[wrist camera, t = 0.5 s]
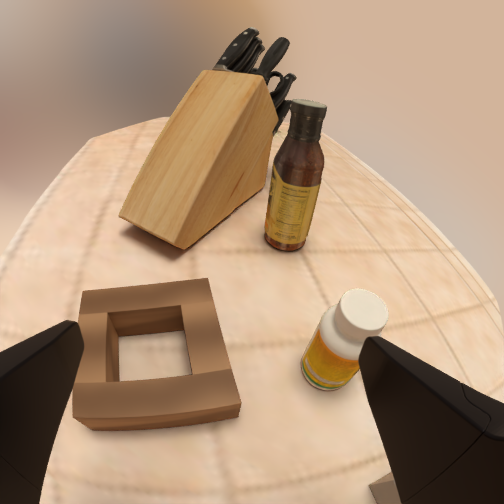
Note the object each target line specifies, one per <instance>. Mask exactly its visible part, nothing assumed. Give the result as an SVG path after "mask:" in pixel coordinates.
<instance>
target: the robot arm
mask: <svg viewBox="0 0 504 504" xmlns="http://www.w3.org/2000/svg"><path fill="white" fill-rule="evenodd" d="M83 352H84V340H83V337H82V333H81V330H80V326H79V324H78V323H77V322H75V321H70V320H65V321H63V322H61V323H59V324H57V325H55V326H53V327H51V328H49V329H47V330H45V331H42V332H40V333H38V334H36V335H34V336H32V337H30V338H28V339H26V340H24V341H22V342H20V343H18V344H16V345H14V346H12V347H10V348H8V349H6V350H4V351H2V352H0V504H39V502H40V497H41V491H42V486H43V482H44V477H45V473H46V469H47V465H48V462H49V458H50V454H51V451H52V447H53V444H54V441H55V437H56V434H57V431H58V428H59V425H60V422H61V419H62V416H63V413H64V411H65V408H66V405H67V402H68V400H69V397H70V394H71V392H72V389H73V386H74V382H75V379H76V375H77V372H78V368H79V365H80V361H81V358H82V355H83ZM358 363H359V367H360V371H361V375H362V379H363V383H364V387H365V391H366V395H367V399H368V402H369V405H370V408H371V411H372V414H373V416H374V419H375V422H376V425H377V428H378V431H379V434H380V437H381V440H382V443H383V446H384V449H385V452H386V455H387V458H388V461H389V464H390V467H391V471H392V474H393V477H394V481H395V484H396V487H397V491H398V494H399V498H400V501H401V504H504V403H502V402H500V401H497V400H495V399H493V398H491V397H489V396H486V395H484V394H482V393H480V392H478V391H476V390H474V389H473V388H471V387H469V386H467V385H465V384H463V383H460V381H458V380H456V379H454V378H453V377H451V376H449V375H447V374H445V373H444V372H442V371H440V370H438V369H436V368H435V367H433V366H431V365H429V364H428V363H426V362H424V361H422V360H420V359H419V358H417V357H415V356H413V355H412V354H410V353H408V352H406V351H405V350H403V349H401V348H399V347H397V346H396V345H394V344H392V343H390V342H389V341H387V340H385V339H383V338H382V337H380V336H368V337H367V338H366V339H365V341H364V343H363V346H362V349H361V352H360V354H359V358H358Z"/></svg>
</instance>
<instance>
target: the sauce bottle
mask: <svg viewBox="0 0 504 504" xmlns="http://www.w3.org/2000/svg"><path fill="white" fill-rule="evenodd" d="M290 110H291V119H290V126H289V130H288V134H287V136H286V138H285V140H284V142H283V143H282V145H281V147H280V149H279V151H278V152H277V154H276V156H275V158H274V162H273V169H272V177H271V183H270V192H269V198H268V206H267V213H266V220H265V238H266V240H267V242H269V243H270V244H271V245H272V246H273V247H276V248H278V249H281V250H286V251H293V250H296V249H298V248H300V247H301V246H303V245H304V243H305V241H306V236H307V235H308V232H309V229H310V225H311V221H312V217H313V213H314V209H315V205H316V201H317V197H318V193H319V189H320V184H321V175H322V171H323V168H324V155H323V153H322V149H321V147H320V144H319V140H320V138H321V135H320V133H321V128H322V122H323V120H324V118H325V115H326V111H327V106H326V105H324V104H321V103H319V102H314V101H310V100H304V99H293V100H292V102H291V108H290Z"/></svg>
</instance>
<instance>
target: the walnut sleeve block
mask: <svg viewBox="0 0 504 504" xmlns="http://www.w3.org/2000/svg"><path fill="white" fill-rule="evenodd" d="M78 324H79V326H80V330H81V333H82V337H83V340H84V352H83V355H82V358H81V361H80V365H79V368H78V372H77V375H76V379H75V382H74V386H73V400H72V405H73V418H75V419H76V420H78V421H79V422H81V423H82V424H84V425H85V426H87V427H88V428H90V429H91V430H98V431H120V430H145V429H159V428H170V427H179V426H187V425H195V424H202V423H208V422H214V421H220V420H225V419H231V418H236V417H238V416H239V412H240V408H241V399H240V396H239V393H238V389H237V386H236V383H235V379H234V376H233V372H232V369H231V365H230V362H229V358H228V354H227V351H226V347H225V344H224V340H223V336H222V332H221V329H220V325H219V321H218V317H217V313H216V309H215V305H214V301H213V297H212V293H211V289H210V285H209V281H208V278H202V279H194V280H185V281H176V282H167V283H158V284H149V285H139V286H129V287H119V288H109V289H99V290H88V291H83V293H82V299H81V305H80V311H79V318H78ZM178 330H185V336H186V341H187V347H188V353H189V358H190V364H191V369H192V374H193V375H185V376H177V377H169V378H159V379H149V380H137V381H121V382H119V347H118V340H119V336H130V335H141V334H151V333H161V332H169V331H178Z"/></svg>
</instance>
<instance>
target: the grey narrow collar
mask: <svg viewBox="0 0 504 504" xmlns="http://www.w3.org/2000/svg"><path fill="white" fill-rule="evenodd" d="M369 486H370V488H371V491H372V493H373V495H374V498H375V500H376V502H377V504H401V501H400V498H399V494H398V491H397V487H396V484H395V481H394V477H393V474H392V472H391V473H389V474H388V475H386V476H384V477H383V478H381V479H379V480H377V481H376V482H374V483H372V484H370V485H369Z"/></svg>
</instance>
